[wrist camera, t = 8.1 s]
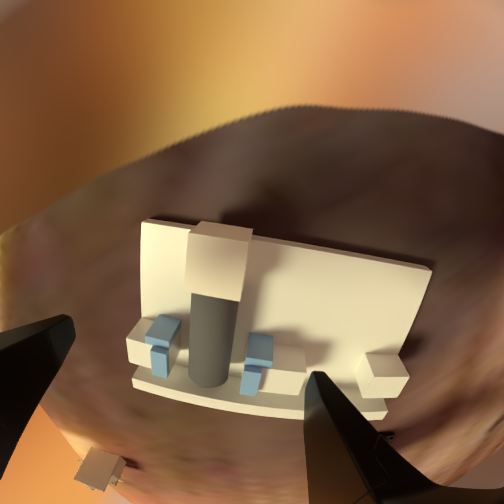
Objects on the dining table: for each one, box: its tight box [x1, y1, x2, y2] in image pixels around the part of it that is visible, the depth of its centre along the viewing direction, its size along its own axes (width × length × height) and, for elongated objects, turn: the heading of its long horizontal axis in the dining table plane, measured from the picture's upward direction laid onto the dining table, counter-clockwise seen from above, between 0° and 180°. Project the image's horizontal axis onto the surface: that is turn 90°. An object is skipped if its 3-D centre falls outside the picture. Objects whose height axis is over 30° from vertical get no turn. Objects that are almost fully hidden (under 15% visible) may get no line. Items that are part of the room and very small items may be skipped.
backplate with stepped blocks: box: [126, 219, 432, 420], centre depth 16 cm, size 18×11×4 cm, turn 81°
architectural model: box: [74, 447, 127, 492], centre depth 25 cm, size 3×7×7 cm, turn 98°
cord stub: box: [184, 221, 253, 388], centre depth 15 cm, size 3×10×3 cm, turn 171°
